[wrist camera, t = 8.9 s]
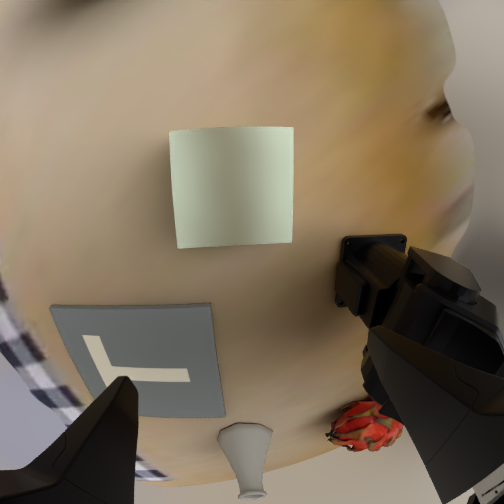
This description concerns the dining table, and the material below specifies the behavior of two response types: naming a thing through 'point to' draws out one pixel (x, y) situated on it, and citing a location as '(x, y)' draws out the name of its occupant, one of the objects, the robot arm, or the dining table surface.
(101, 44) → the dining table surface
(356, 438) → the dragon fruit
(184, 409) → the board
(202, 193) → the sage block
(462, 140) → the dining table surface
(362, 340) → the dining table surface
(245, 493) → the flask
